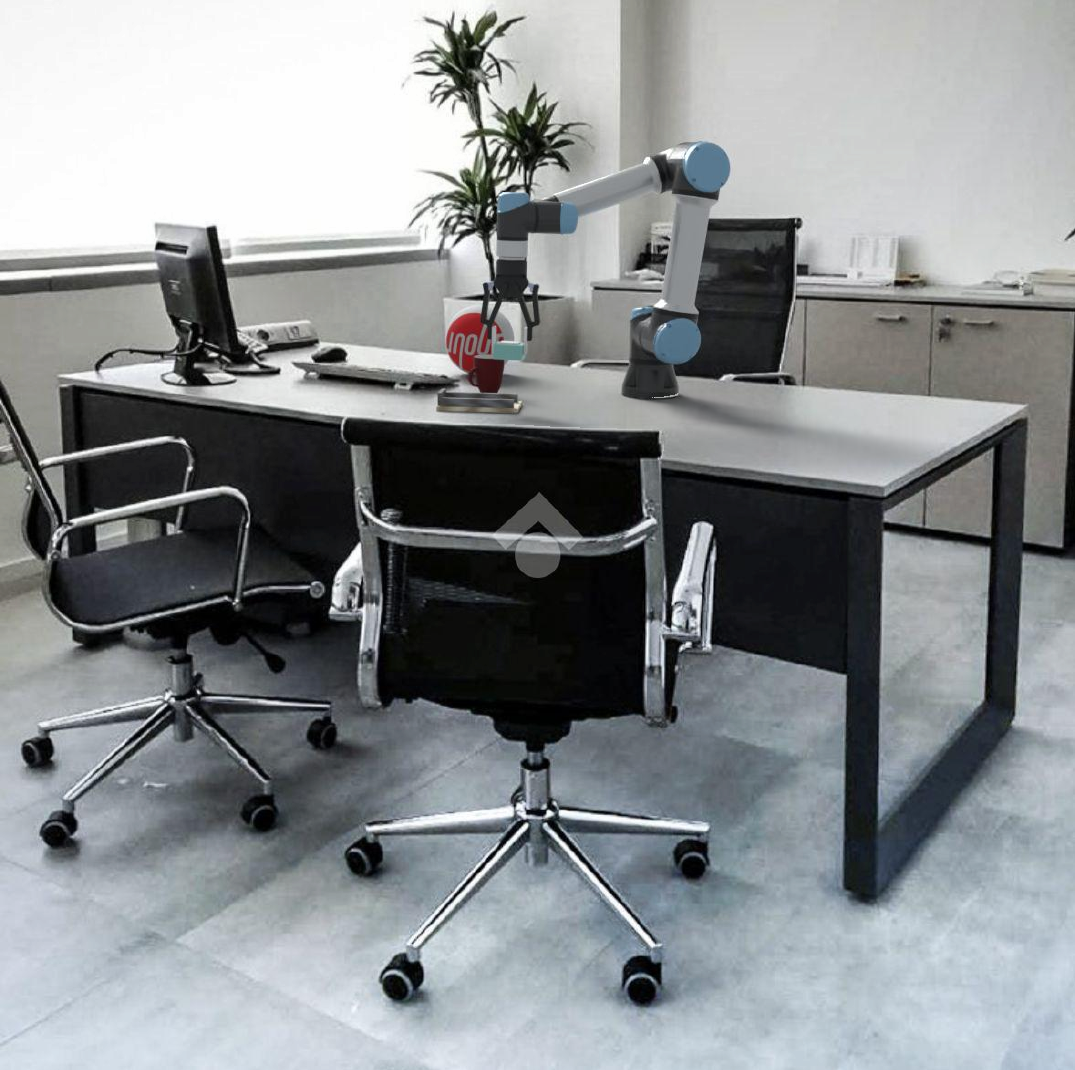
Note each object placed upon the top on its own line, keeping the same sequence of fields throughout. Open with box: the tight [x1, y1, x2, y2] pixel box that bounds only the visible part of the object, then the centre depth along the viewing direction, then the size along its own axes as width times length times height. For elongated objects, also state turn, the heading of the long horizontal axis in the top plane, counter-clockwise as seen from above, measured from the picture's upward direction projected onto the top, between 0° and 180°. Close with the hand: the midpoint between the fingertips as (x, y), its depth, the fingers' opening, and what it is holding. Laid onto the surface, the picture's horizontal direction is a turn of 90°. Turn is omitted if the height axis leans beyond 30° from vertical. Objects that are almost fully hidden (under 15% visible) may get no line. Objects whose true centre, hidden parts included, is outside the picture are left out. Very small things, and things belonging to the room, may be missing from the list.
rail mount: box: [435, 387, 523, 414], centre depth 328 cm, size 20×11×4 cm, turn 85°
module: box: [493, 340, 526, 362], centre depth 323 cm, size 7×6×4 cm
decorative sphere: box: [444, 304, 515, 376], centre depth 376 cm, size 20×20×20 cm
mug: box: [467, 355, 505, 393], centre depth 345 cm, size 10×8×10 cm
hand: (509, 353), depth 324 cm, fingers closed on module, 7 cm apart
